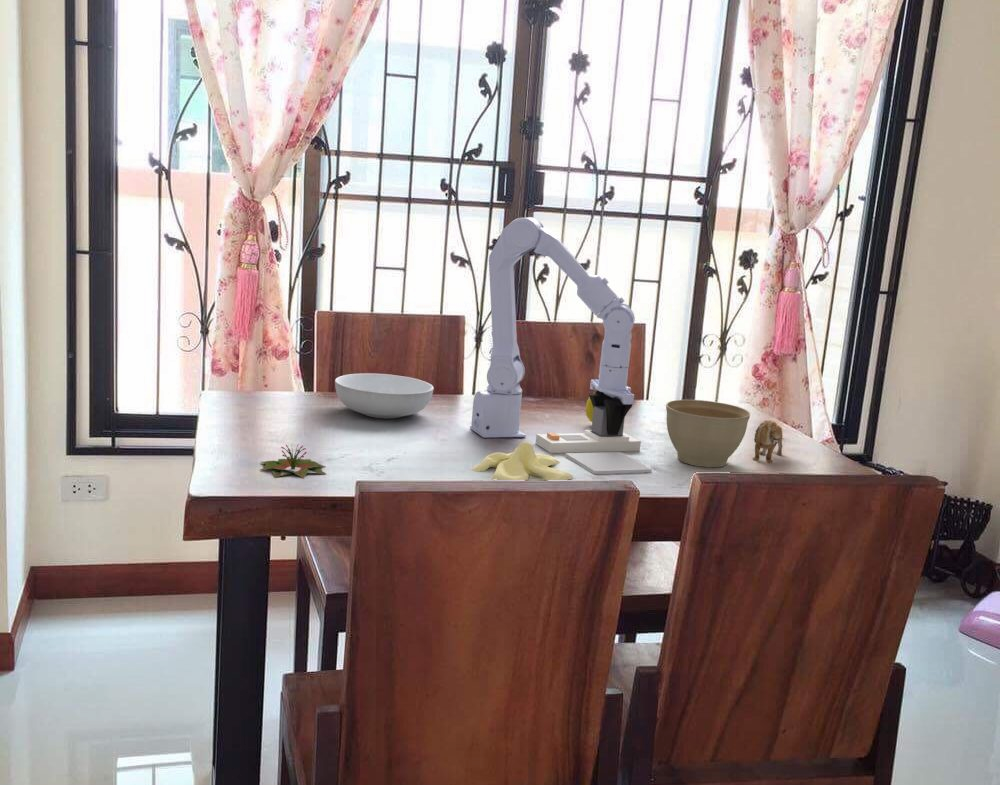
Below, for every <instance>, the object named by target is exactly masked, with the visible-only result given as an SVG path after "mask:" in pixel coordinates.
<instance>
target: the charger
mask: <svg viewBox="0 0 1000 785" xmlns="http://www.w3.org/2000/svg"><path fill="white" fill-rule="evenodd" d="M625 419H626V417H625V418H624V420H623V422H622V425H621V427H620V430H619V433H618V435H608V434H607V413H606V407H605V406H594V411H593V420H592V422H591V429H590V430H591V432H592V433H594V434H596V435H597V436H599V437H614V436H623V433H624V425H625Z"/></svg>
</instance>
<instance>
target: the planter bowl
mask: <svg viewBox="0 0 1000 785" xmlns="http://www.w3.org/2000/svg"><path fill="white" fill-rule="evenodd" d="M665 408H666V410H665V411H666V419H665V420H666V427H667V428H666V429H667V433H668V436H669V439H670V441H671V444H672V446H673V448H674V449H675V451H676V454H677V458H678V459H677V460H679V461H680V462H682V463H685V464H688V465H691V466H695V467H696V466H697V467H703V468H704V467H705V468H718V467H724V466H726V465H727V463H728V461H729V460H728V459H729V458H730V457H731V456H732V455H733V454H734V453H735V452H736V451H737V449H738V448H739V446H740V444H741V443H742V441H743V439H744V437H745V434H746V433H747V432H746V431H747V428H748V423H749V421H750V420H749V419H750V418H751V412H750V411H749V410H747V409H745V408H743V407H740V406H737V405H733V404H729V403H724V402H719V401H710V400H704V399H702V400H701V399H676V400H671V401H669V402H667V403H666V406H665Z"/></svg>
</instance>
